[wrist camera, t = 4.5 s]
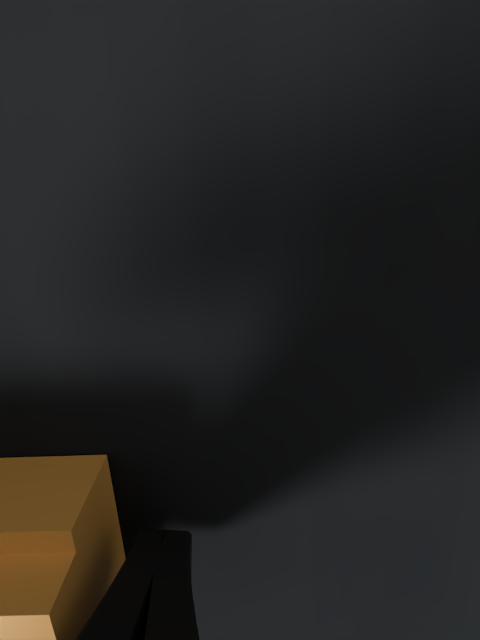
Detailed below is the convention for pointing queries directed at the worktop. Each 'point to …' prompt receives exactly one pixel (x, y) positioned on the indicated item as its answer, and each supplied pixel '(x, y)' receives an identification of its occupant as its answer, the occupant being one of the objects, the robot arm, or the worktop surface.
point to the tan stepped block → (55, 544)
